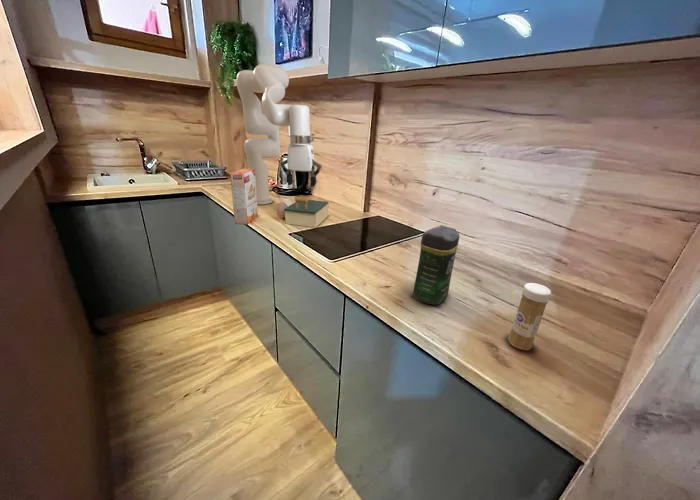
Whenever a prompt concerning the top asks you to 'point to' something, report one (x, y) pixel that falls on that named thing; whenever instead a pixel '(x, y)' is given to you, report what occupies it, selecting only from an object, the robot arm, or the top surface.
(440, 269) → the coffee jar
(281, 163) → the robot arm
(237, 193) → the cracker box
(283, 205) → the egg
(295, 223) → the book box
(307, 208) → the book cover
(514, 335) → the sprinkles bottle
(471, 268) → the top surface
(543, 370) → the top surface
